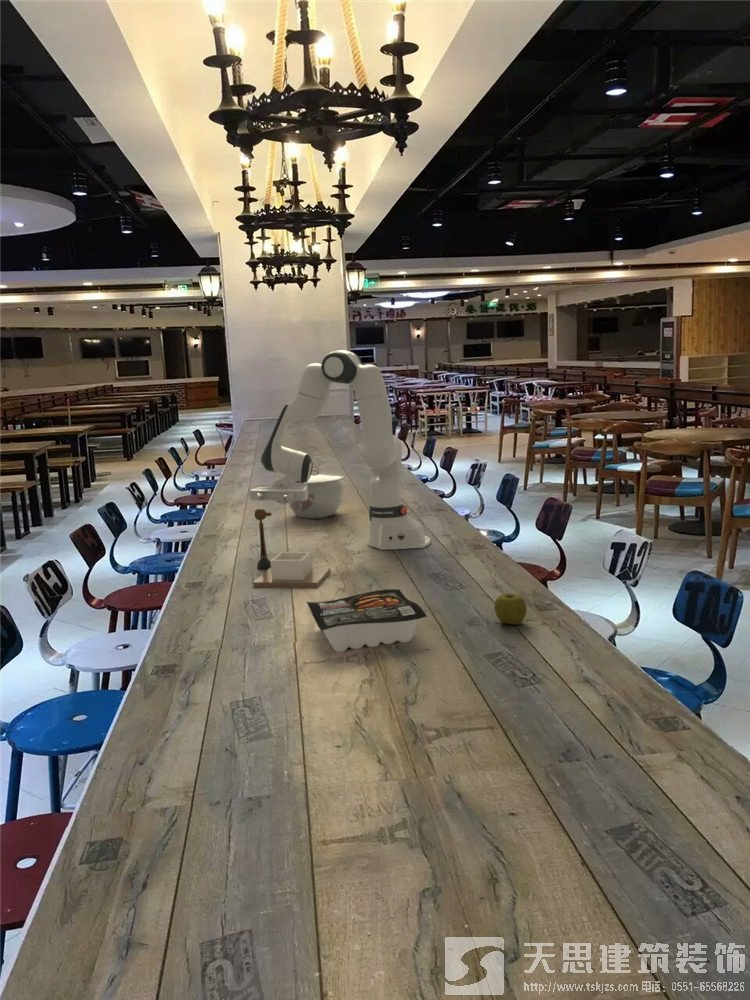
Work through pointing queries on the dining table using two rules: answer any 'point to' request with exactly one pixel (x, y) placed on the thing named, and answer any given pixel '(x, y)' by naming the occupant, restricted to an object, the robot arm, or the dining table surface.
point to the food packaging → (367, 619)
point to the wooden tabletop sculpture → (262, 540)
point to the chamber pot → (320, 496)
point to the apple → (510, 608)
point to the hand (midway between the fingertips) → (272, 498)
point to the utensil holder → (292, 572)
